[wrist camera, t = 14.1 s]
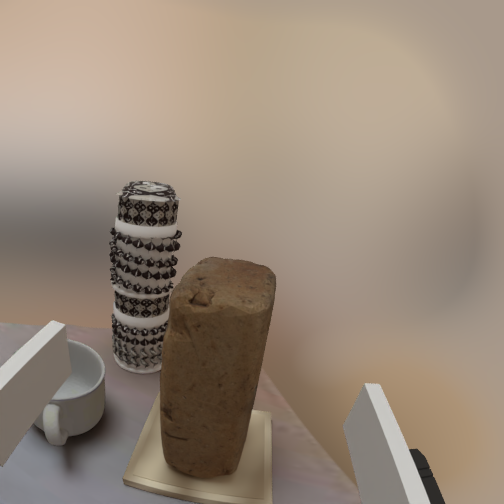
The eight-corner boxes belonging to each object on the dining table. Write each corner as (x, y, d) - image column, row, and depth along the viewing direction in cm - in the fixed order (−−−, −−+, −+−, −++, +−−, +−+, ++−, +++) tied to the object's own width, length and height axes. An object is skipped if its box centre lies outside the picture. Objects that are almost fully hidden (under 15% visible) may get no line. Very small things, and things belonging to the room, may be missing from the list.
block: (231, 493, 22) (277, 310, 17) (155, 470, 23) (152, 280, 18) (250, 421, 33) (287, 259, 28) (189, 404, 34) (206, 242, 28)
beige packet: (123, 484, 22) (122, 477, 21) (158, 398, 35) (158, 391, 35) (269, 511, 22) (272, 505, 21) (269, 418, 35) (271, 411, 35)
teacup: (40, 379, 31) (29, 328, 29) (116, 392, 34) (111, 341, 32) (9, 457, 18) (-18, 405, 16) (104, 480, 21) (89, 432, 19)
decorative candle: (176, 375, 40) (193, 191, 34) (110, 374, 37) (110, 184, 30) (168, 340, 48) (183, 183, 42) (112, 338, 45) (117, 177, 38)
